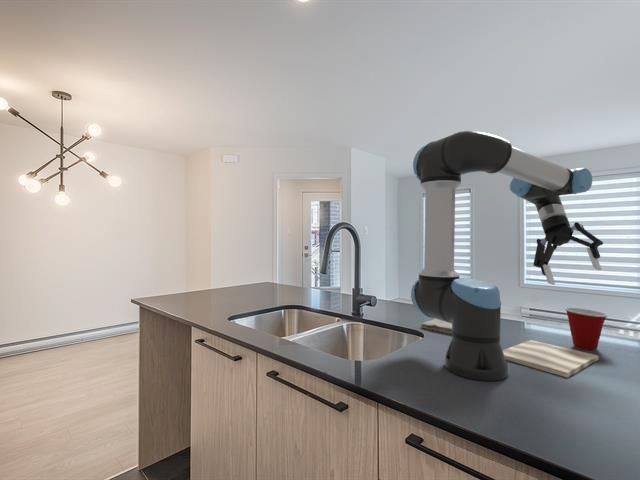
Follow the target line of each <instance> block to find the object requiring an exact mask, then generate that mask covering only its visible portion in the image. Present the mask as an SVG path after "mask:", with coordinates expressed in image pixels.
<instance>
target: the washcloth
mask: <svg viewBox="0 0 640 480" xmlns="http://www.w3.org/2000/svg"><path fill="white" fill-rule="evenodd" d="M420 327H421V328H422V329H424V328H425V330H428V329H430V330H429V331H432V330H433V331H432V332H437V331H438V332H437V333H442V332H443V334H446V333H447V334H446V335H451V334H452V323H448V322H445V321H442V320H439V319H435V318H431V320H427V321H424V322H422V323H421V325H420Z"/></svg>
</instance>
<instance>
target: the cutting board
mask: <svg viewBox="0 0 640 480" xmlns="http://www.w3.org/2000/svg"><path fill="white" fill-rule="evenodd" d="M502 350H503V353H504V356H505V359H506V361H507V362H508V361H509V362H513V363H516V364H519V365H523V366H525V367H526V366H527V367H528V368H529V367H530V368H533V369H537V370H539V371H540V370H541V371H542V372H543V371H544V372H547V373H550V374H553V375H554V374H555V375H557V376H560V377H564V378H569V377H570V378H571V376H573V375H574V374H576V373H578V372H580V371H582V370H583V369H585V368H587V367H588V366H590V365H592V364H593V363H595V362H597V361H598V360H599V359H600V358H599V354H594V353H589V352H584V351H580V350H576V349H572V348H568V347H564V346H563V347H562V346H557V345H554V344H550V343H545V342H541V341H536V340H534V339H533V340H532V339H530V340H526V341H524V342H521V343H519V344H516V345H513V346H510V347H508V348H505V349H502Z"/></svg>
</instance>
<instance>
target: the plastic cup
mask: <svg viewBox="0 0 640 480" xmlns="http://www.w3.org/2000/svg"><path fill="white" fill-rule="evenodd" d="M564 309H565V311H566V315H567V319H568V323H569V324H568V325H569V329H570V335H571V339H572V344H573V347H575V348H577V349H580V350H585V351H597V349H598V346H599V341H600V338H601V334H602V330H603V326H604V323H605V320H606V319H607V318H608V316H609V314H607V313H605V312H600V311H596V310H591V309H585V308H578V307H564Z"/></svg>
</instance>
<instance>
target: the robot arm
mask: <svg viewBox="0 0 640 480" xmlns="http://www.w3.org/2000/svg"><path fill="white" fill-rule="evenodd" d="M412 163H413V164H412V169H413V173H414V175H416V176H415V177H416V178H417V180H419V181H420V184H419V185H420V187H421V188H422V189H423V190H424V191H425V193H424V194H425V198H424V200H425V201H424V207H425V208H424V255H423V257H424V261H423V262H424V264H423V265H424V266H423V267H424V268H423V269H422V270H421V271H420V272H419V273H418V279H417V280H416V281H415V282H414V285H412V287H411V290H410V291H411V292H410V298H411V302H412V305H413V307H414V308H415V309H416V310H417V312H419V313H420V314H422V315H424V316H426V317H427V318H431V319H439V320H442V321H445V322H448V323H452V335H451V339H450V342H449V345H448V348H447V351H446V353H445V358H444V363H445V365H444V366H445V368H446V369H447V370H448V371H449V372H451V373H452V374H455V375H457V376H460V377H464V378H466V379H471V380H476V381H477V380H478V381H483V382H484V381H485V382H486V381H488V382H489V381H491V382H493V381H494V382H495V381H502V380H504V379H507V378H508V376H509V365H508V361H507V360H506V359H505V356H504V353H503V350H504V349H503V347H502V345H501V310H502V309H501V306H502V301H501V292H500V289H499V288H498V287H497V286H496V285H495V284H493V283H490V282H489V281H488V282H487V281H484V280H478V279H473V278H460V274H459V272H457V271H456V269H455V238H456V237H455V232H456V231H455V228H456V225H455V224H456V219H455V218H456V190H457V188H459V186H461V184H462V175H465V174H469V173H470V174H471V173H475V172H476V173H478V172H484V173H487V174H491V175H492V174H497V173H499V174H502V175H505V176H508V177H510V178H512V179H511V181H510V184H509V190H510V192H511V193H512V194H514V195H516V197H519V198H521V199H523V200H525V201H526V202H529V203H531V204H533V205H534V206H535V208H536V210H537V214H538V217H539V220H540V223H541V226H542V229H543V233H544V234H545V237H544V238H537V239H536V245H537V246H536V250H535V255H534V260H533V266H534V267H536V268H540V270H541V271H540V272H541V274H542V275H543V276H545V278H546V281H547V284H550V285H556V283H555V279H554V275H553V273H552V269H551V266H550V265H549V262H550V260H551V258H552V256H553V255H554V252H555V250H557V248H558V247H562V246H563V245H565V244H569V242H570V241H573V242H576V243H578V244H581V245H582V246H585V247H587V248H586V252H587V255H588V256H589V258H590V259H589V260H590V263H591V265H592V267H593V268H594V269H595V270H597V271H601V270H602V267H601V264H600V261H599V259H600V258H601V254H600V252H599V249H598V248H599V246H603V244H604V242H603V241H602V240H601V239H599V237H596V236H595V235H593V234H592V233H590V231H588V230H586V228H585V227H584V225H583V224H582V223H579V222H577V221H575V222H574V224H573V225H572V226H571V224H570V222H569V219H568V217H567V213H566V211H565V208H564V206H563V203H562V200H561V197H560V196H566V195H567V196H569V195H577V194H582V193H587V192H588V191H589V190H590V189H591V188H592V184H593V175H592V173H591V172H592V171H590V170H589V169H588V168H585V167H580V168H577V167H576V168H572V169H570V168H567V167H565V166H562V165H559V164H557V163H554V162H551V161H549V160H547V159H544V158H542V157H540V156H537V155H534V154H531V153H530V152H527V151H524V150H522V149H519V148H517V147H514V146H513V145H512V143H511V142H510V141H509V140H508V139H505V138H503V137H500V136H497V135H495V134H491V133H488V132H487V133H486V132H481V131H477V130H476V131H474V130H464V131H458V132H455V133H453V134H451V135H449V136H446V137H445V136H444V137H442V138H439V139H438V140H434V141H431V142H429V143H427V144H425V145H424V146H422V147H420V149H419V150H418V151H416V153H415V155H414V158H413V162H412ZM574 231H576V232H580V233H581V234H582V235H584V236H585V237H587V238H588V239H589V240H591V241H592V242H589V241H586V240H583V239H581V238H579V237H576V236H574V235H573V233H574Z"/></svg>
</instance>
